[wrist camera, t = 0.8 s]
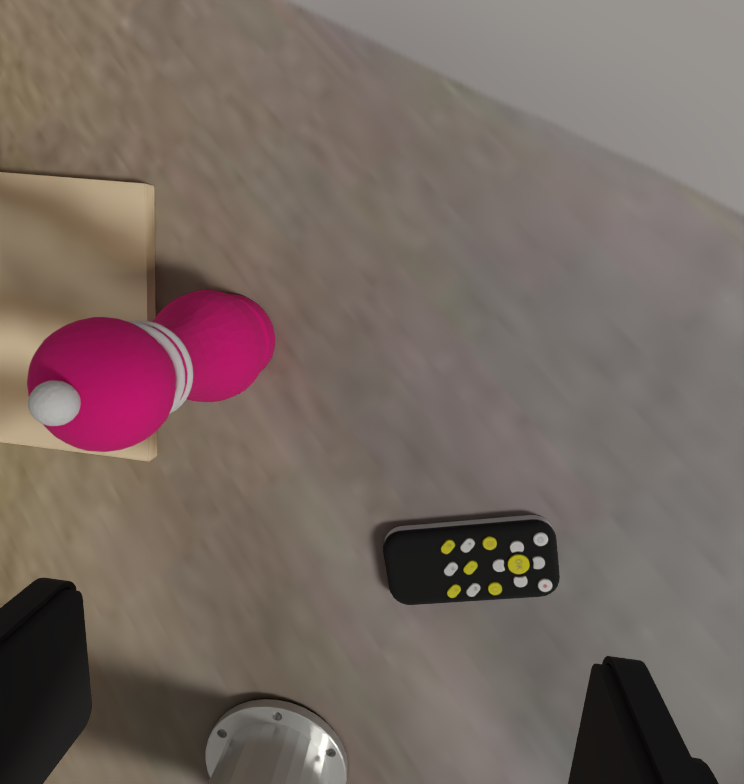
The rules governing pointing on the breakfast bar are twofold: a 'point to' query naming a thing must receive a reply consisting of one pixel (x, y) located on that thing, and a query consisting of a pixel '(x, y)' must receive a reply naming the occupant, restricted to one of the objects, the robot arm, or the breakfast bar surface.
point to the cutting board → (68, 279)
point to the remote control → (472, 560)
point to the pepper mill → (145, 368)
